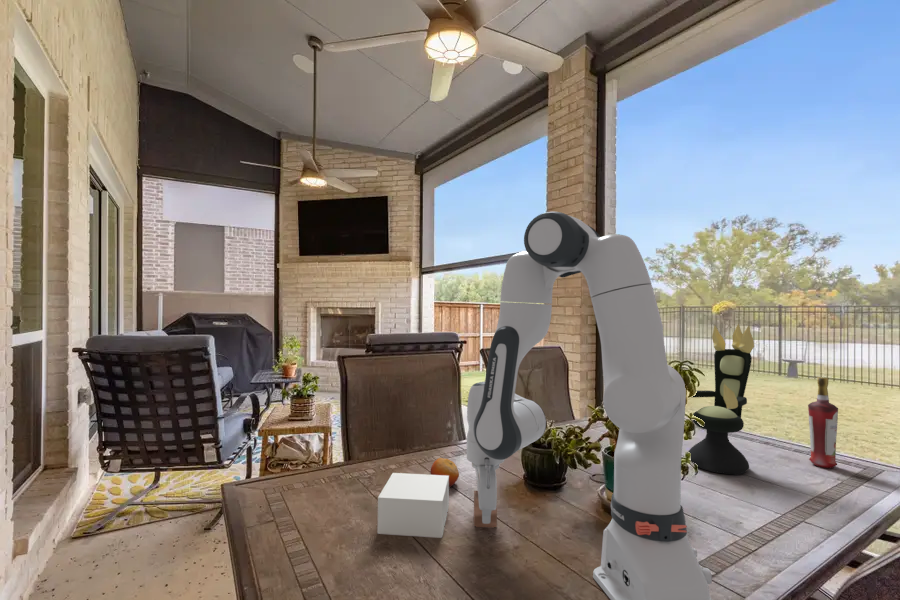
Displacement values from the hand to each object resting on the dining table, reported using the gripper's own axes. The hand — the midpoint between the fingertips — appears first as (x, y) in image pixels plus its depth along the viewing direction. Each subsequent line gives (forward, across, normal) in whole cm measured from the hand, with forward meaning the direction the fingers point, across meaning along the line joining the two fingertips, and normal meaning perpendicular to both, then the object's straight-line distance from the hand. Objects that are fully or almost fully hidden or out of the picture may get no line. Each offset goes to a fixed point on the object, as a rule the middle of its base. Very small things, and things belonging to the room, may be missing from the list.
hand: (484, 511), depth 99 cm
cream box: (+2, 0, +16) cm, 16 cm away
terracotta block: (+2, 0, 0) cm, 2 cm away
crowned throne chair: (+2, +41, -77) cm, 87 cm away
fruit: (+2, +20, +10) cm, 22 cm away
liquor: (+2, +42, -110) cm, 118 cm away
